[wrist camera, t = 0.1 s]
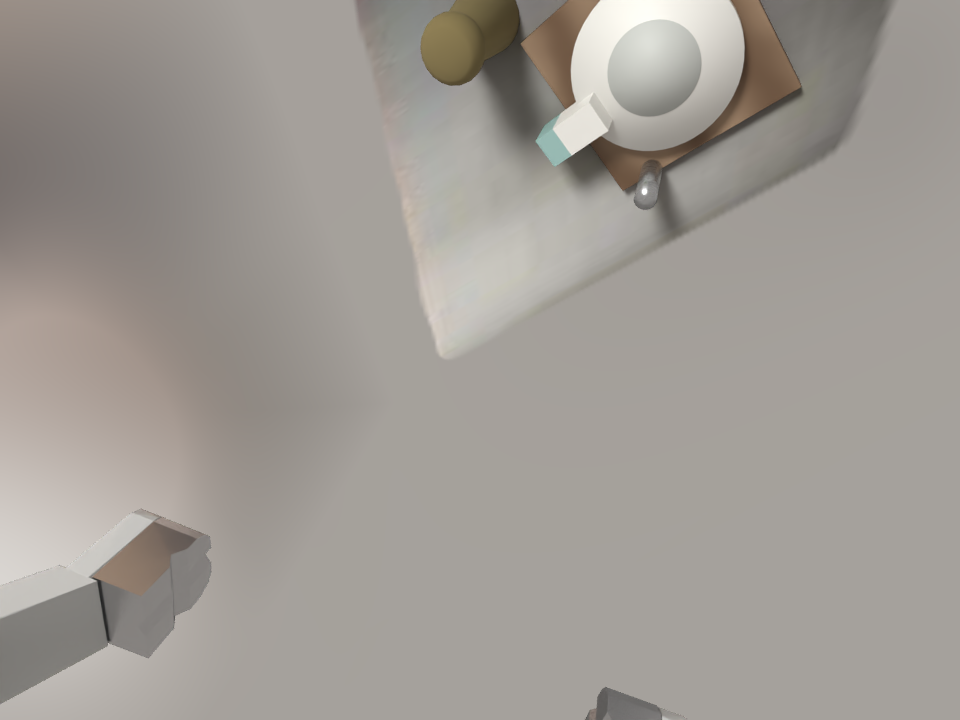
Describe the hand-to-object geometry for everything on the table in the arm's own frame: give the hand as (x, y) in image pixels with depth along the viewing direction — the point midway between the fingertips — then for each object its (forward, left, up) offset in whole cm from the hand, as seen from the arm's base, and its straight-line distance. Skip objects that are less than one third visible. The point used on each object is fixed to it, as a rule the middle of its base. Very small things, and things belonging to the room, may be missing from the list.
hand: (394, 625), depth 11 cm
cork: (+12, -7, -52) cm, 54 cm away
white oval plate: (+4, +5, -51) cm, 51 cm away
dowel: (+7, +13, -52) cm, 54 cm away
